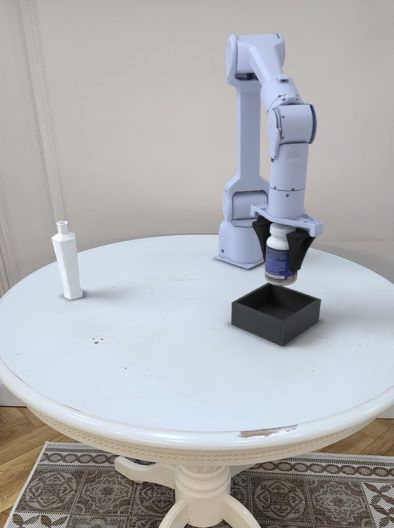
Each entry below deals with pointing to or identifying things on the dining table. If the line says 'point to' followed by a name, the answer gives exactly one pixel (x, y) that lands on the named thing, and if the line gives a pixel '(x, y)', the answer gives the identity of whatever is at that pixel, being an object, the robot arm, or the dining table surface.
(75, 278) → the perfume bottle
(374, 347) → the dining table surface
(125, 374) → the dining table surface
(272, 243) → the pill bottle
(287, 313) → the basket
